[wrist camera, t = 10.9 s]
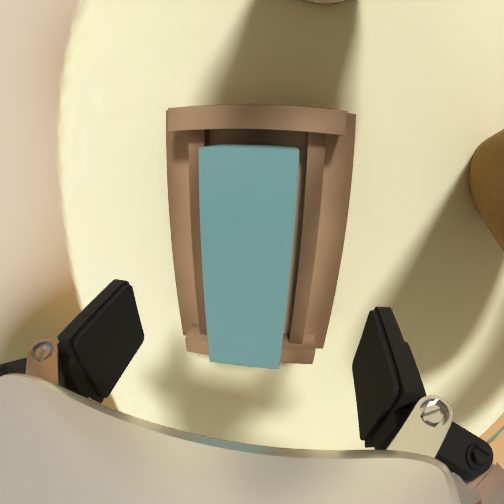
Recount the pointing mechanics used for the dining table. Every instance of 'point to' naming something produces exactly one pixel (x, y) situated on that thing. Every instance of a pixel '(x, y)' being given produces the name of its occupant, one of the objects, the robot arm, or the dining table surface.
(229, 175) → the teal block
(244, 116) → the display cradle
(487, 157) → the plant pot
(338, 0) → the coffee cup
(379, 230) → the dining table surface
